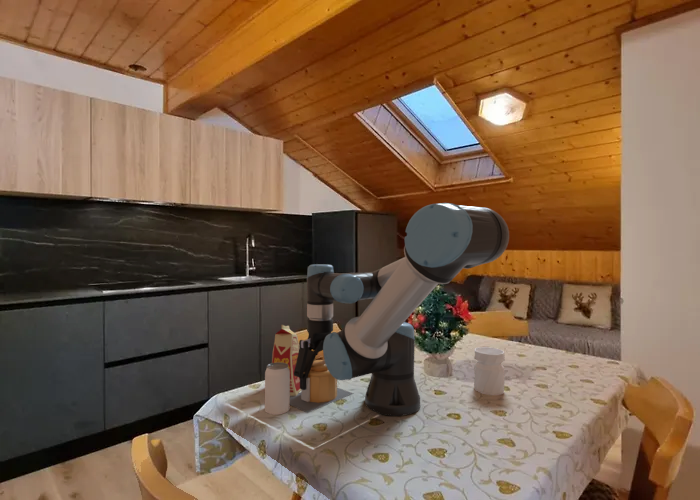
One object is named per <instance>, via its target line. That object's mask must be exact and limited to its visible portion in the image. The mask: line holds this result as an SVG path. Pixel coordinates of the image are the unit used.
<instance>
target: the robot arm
mask: <svg viewBox="0 0 700 500" xmlns="http://www.w3.org/2000/svg"><path fill="white" fill-rule="evenodd" d="M404 232H405V233H406V236H404V247H403V252H404V253H403V254H404V257H402V258H400V259H398V260H395V261H393V262H391V263H389V264H387V265H385V266H383V267H381V268H379V269H377V270H373V271H370V272H369V271H366V272H346V273H345V272H344V273H341V272H335V271H334V266H333V265H332V264H328V263H327V264H324V263H323V264H318V263H316V264H315V263H314V264H310V265H309V266H307V273H306V274H307V276H306V301H307V302H306V304H307V305H306V308H307V309H306V316H307V319H306V332H307V333H308V337H307V339H304V340H303V339H300V340H298V342H299V352H298V357H297V361H296V366H295V370H294V376H296V377H299V378H300V389H301V391H300V392H301V399H302V400H304V401H306V402H309V401H310V378H309V377H308V374H309V372H310V369H311V367H312V364H313V362H314V361H315V360H316V356H318V355H319V353H320V352H323V353H322V354H323V360H325V363H326V366H327V368H328V370H329V372H330V374H331V375H332V376H333V377H334V378H336V379H337V381H347V380H348V381H349V380H352V379H354V378H359V377H362V376H366V375H370V374H371V376H370V380H369V383H368V386H367V389H366V392H365V395H364V396H365V397H364V405H365V406H366V408H368V409H369V410H371V411H372V412H375V413H377V414H380V415H382V416H383V415H384V416H392V417H394V416H395V417H396V416H397V417H399V416H407V415H411V414H414V413H416V412H418V411H419V410H420V409H421V395H420V393H419V389H418V386H417V382H416V379H415V345H416V344H415V343H416V339H415V329H414V326H413V325H412V324H411V323H408V322H406V320H407V319H408V318H409V317H410V316H411V315H412V314H413V313H414V311H415V310H416V309H417V308H418V307H419V306H420V305H421V304H422V303H423V302H424V301H425V299H426V298H427V297H428V296H429V295H431V292H433V290H434V289H435V288H436V287H437V286H438V285H446V284H449V283H450V282H452V280H453V279H454V278H456V276H457V275H459V273H461V271H462V270H463V269H466V270H468V269H471V268H474V267H479V266H481V265H484V264H489V263H492V262H494V261H495V260H498V259H499V258H500V257H501V256H502V255H503V254H504V253H505V251H506V249H507V248H508V244H509V241H510V230H509V227H508V224H507V222H506V221H505V219H504V218H503V216H502V215H501V214H499V213H498V212H496V211H495V210H493V209H491V208H488V207H481V206H467V205H459V204H455V203H452V202H451V203H450V202H442V203H441V202H440V203H432V204H428V205H425V206H423V207H421V208H420V209H418V210H417V211H416V212H414V214H413V215H412V216H411V218H410V219H409V221H408V223H407V226H406V228H405V231H404ZM369 299H370V300H371V299H372V300H371V302H370V303H369V304H368V305H367V307H366V308H365V310H363V312H362V313H361V315H360V316H355V317H352V318H350V319H349V320H348V322H346V324H345V325H344V327H343V328H342V329H341V330H340V331H338V332H337V331H334V319H333V317H334V302H338V303H341V304H355V303H356V302H358V301H362V300H363V301H364V300H369ZM304 372H305V373H304Z"/></svg>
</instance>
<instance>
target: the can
mask: <svg viewBox="0 0 700 500" xmlns="http://www.w3.org/2000/svg"><path fill="white" fill-rule="evenodd" d="M264 371H265V372H264V411H265V412H266V413H267V414H269V415H281V414H282V415H283V414H285V413H287V412H289V410H290V409H291V408H290V407H291V405H290V396H291V395H290V370H289V368H288V364H286V363H281V362H277V363H272V362H271V363H268V364H267V365H266V370H264Z"/></svg>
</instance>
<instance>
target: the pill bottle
mask: <svg viewBox="0 0 700 500" xmlns="http://www.w3.org/2000/svg"><path fill="white" fill-rule="evenodd" d="M473 358H474V359H475V361H476V362H475V363H474V364H473V371H474V377H473V378H474V379H473V381H474V382H473V388H474V390H475V391H476V392H477V391H478V392H477V393H480V394H483V395H488V396H500V395H503V394H504V392H505V366H504V365H502V363H503V362H505V351H504V350H502V349H500V348H497V347H489V346H479V347H475V348H474V357H473Z"/></svg>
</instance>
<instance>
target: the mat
mask: <svg viewBox="0 0 700 500" xmlns="http://www.w3.org/2000/svg"><path fill="white" fill-rule="evenodd" d="M353 394H354V393H353V392H350V391H348V390H345V389H342V388H340V387H337V396H336V398H335V399H333V400H331V401H328V402H320V403H318V402H310V401H309V402H306V401H304V400H302V399H301V391H300V392H299V393H298V394H297V395H296V396H291V395H290V407H294V408H295V409H297V410H301V411H303V412H305V413H307V414H308V413H312V411H313V412H314V411H315V410H318V409H320V408H323V407H325V406H327V405H330V404H332V403H334V402H337V401H339V400H343V399H344V398H347V397H349V396H352V395H353Z"/></svg>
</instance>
